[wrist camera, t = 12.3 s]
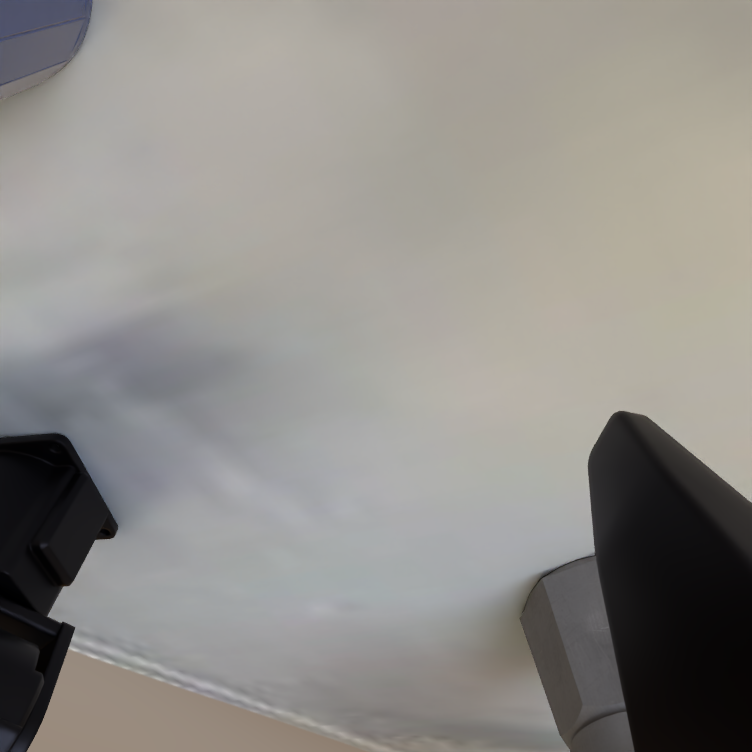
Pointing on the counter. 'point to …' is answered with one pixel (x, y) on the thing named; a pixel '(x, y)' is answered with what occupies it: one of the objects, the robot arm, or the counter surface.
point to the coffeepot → (577, 658)
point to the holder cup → (38, 40)
